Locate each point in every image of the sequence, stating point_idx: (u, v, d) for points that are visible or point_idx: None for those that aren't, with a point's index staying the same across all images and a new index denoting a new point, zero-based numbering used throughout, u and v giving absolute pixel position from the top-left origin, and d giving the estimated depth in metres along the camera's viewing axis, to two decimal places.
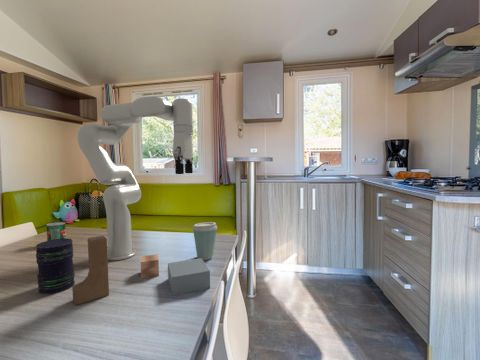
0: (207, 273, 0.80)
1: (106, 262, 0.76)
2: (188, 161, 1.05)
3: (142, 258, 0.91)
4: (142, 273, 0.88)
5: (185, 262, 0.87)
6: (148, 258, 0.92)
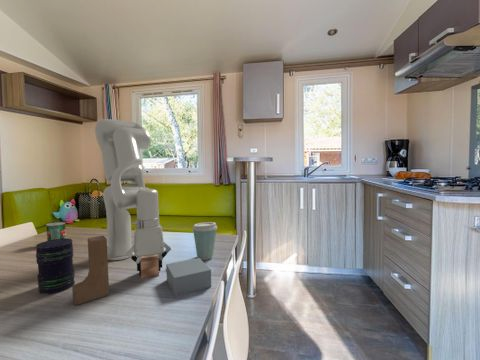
0: (208, 272, 0.81)
1: (106, 262, 0.76)
2: None
3: (142, 258, 0.91)
4: (142, 273, 0.88)
5: (184, 262, 0.87)
6: (148, 257, 0.92)
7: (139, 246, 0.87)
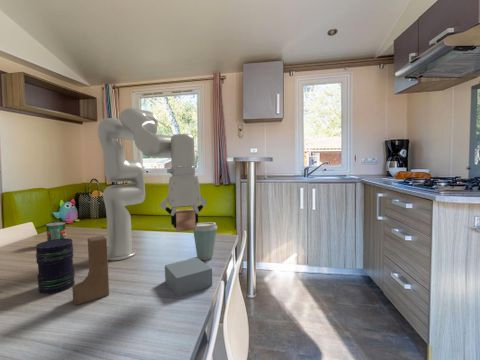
0: (209, 271, 0.82)
1: (106, 262, 0.76)
2: None
3: (176, 211, 0.83)
4: (178, 226, 0.79)
5: (183, 263, 0.87)
6: (183, 211, 0.83)
7: (175, 196, 0.79)
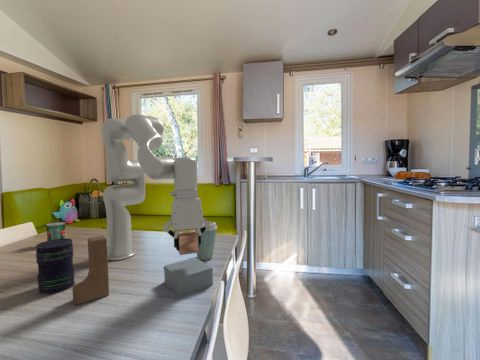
0: (210, 271, 0.82)
1: (106, 262, 0.76)
2: None
3: (179, 233, 0.83)
4: (181, 249, 0.79)
5: (182, 263, 0.87)
6: (186, 233, 0.83)
7: (178, 219, 0.79)
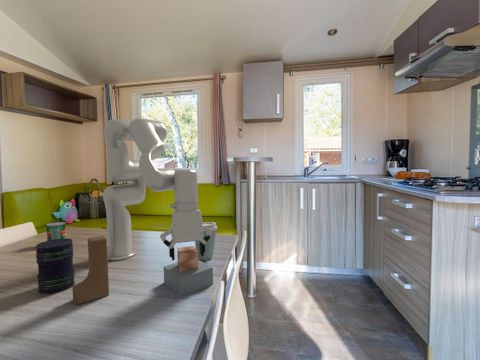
0: (210, 270, 0.82)
1: (106, 262, 0.76)
2: None
3: (179, 249, 0.83)
4: (181, 266, 0.80)
5: None
6: (186, 249, 0.83)
7: (178, 231, 0.79)
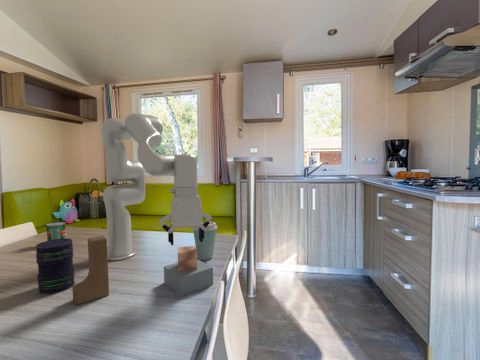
0: (210, 270, 0.82)
1: (106, 262, 0.76)
2: None
3: (179, 249, 0.83)
4: (179, 265, 0.80)
5: None
6: (186, 249, 0.84)
7: (177, 216, 0.79)
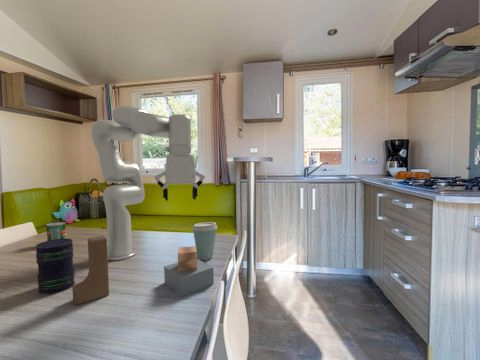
0: (211, 270, 0.82)
1: (106, 262, 0.76)
2: None
3: (179, 249, 0.83)
4: (179, 266, 0.80)
5: None
6: (186, 249, 0.83)
7: (171, 172, 0.84)
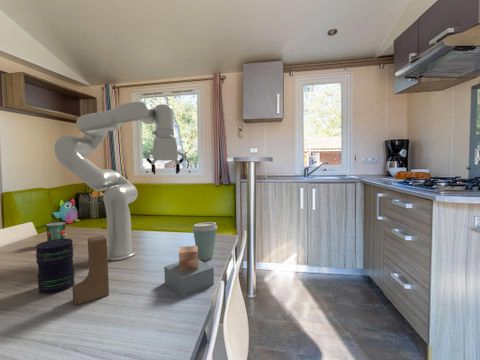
0: (211, 270, 0.82)
1: (106, 262, 0.76)
2: None
3: (181, 249, 0.84)
4: (180, 265, 0.80)
5: None
6: (187, 249, 0.84)
7: (157, 151, 1.04)
